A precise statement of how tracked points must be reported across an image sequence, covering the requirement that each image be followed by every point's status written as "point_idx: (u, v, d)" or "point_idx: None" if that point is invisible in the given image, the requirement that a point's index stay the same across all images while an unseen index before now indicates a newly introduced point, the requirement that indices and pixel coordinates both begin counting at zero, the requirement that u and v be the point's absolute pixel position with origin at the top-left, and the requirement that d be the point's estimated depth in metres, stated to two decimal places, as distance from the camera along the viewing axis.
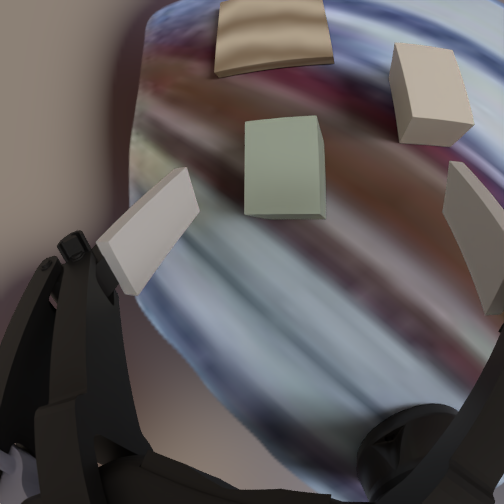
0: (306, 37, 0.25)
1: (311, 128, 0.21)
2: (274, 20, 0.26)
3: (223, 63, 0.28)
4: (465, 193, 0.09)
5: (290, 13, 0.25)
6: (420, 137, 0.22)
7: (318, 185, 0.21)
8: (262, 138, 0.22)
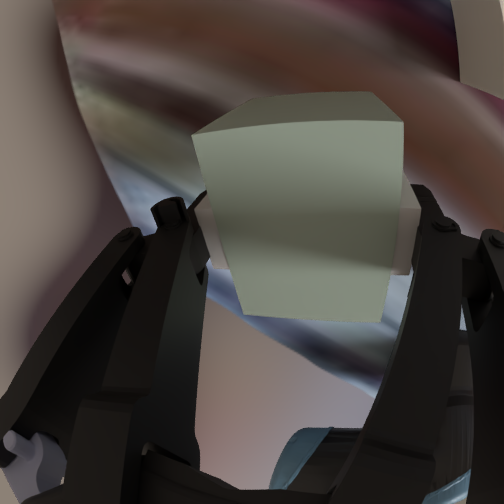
0: None
1: (385, 160, 0.07)
2: None
3: None
4: None
5: None
6: None
7: (386, 285, 0.09)
8: (251, 183, 0.08)
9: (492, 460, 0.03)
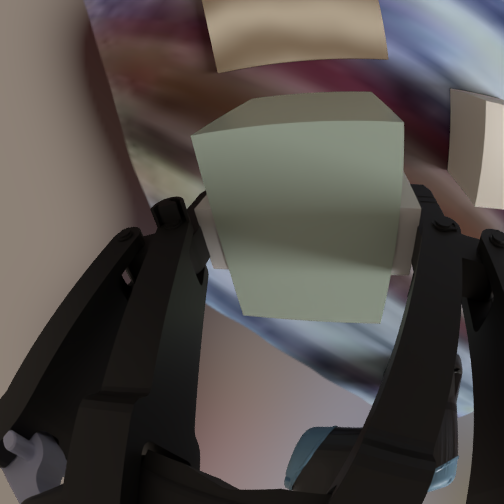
0: (348, 19, 0.15)
1: (386, 160, 0.07)
2: None
3: (228, 58, 0.19)
4: None
5: None
6: None
7: (386, 286, 0.09)
8: (250, 184, 0.08)
9: (492, 460, 0.03)
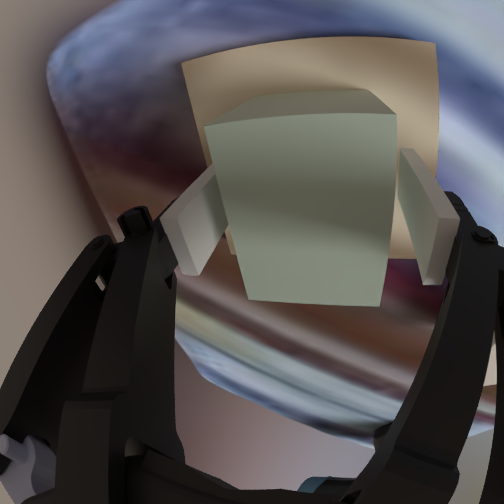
0: None
1: (381, 149, 0.07)
2: None
3: None
4: (409, 175, 0.10)
5: None
6: None
7: (384, 268, 0.10)
8: (258, 170, 0.09)
9: None
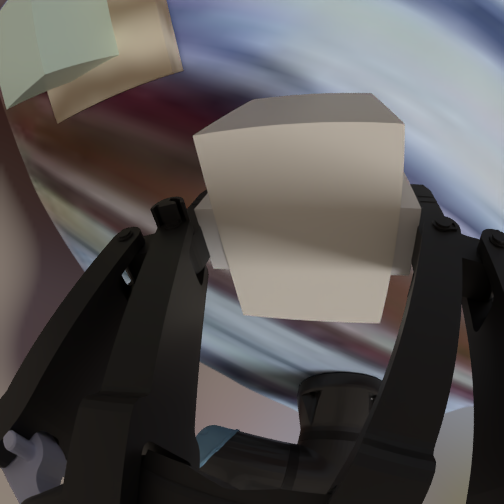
0: (131, 44, 0.14)
1: None
2: None
3: (60, 110, 0.19)
4: None
5: None
6: None
7: (37, 45, 0.09)
8: None
9: (492, 460, 0.03)
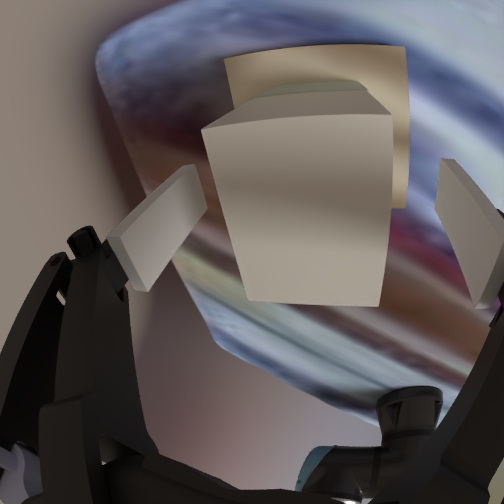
0: None
1: None
2: None
3: None
4: (455, 189, 0.09)
5: None
6: None
7: None
8: None
9: None
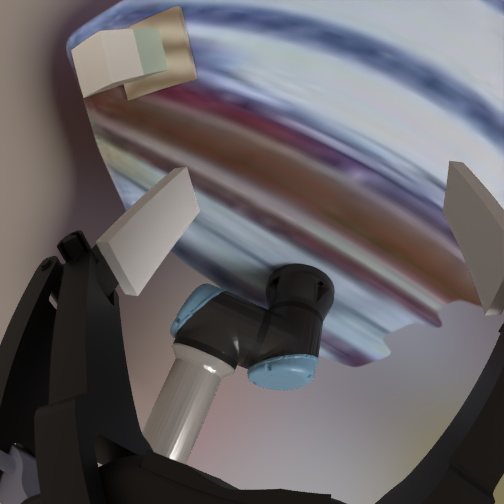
0: (174, 65, 0.37)
1: None
2: None
3: (131, 93, 0.41)
4: (465, 193, 0.09)
5: None
6: (114, 86, 0.32)
7: None
8: None
9: None
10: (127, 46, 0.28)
